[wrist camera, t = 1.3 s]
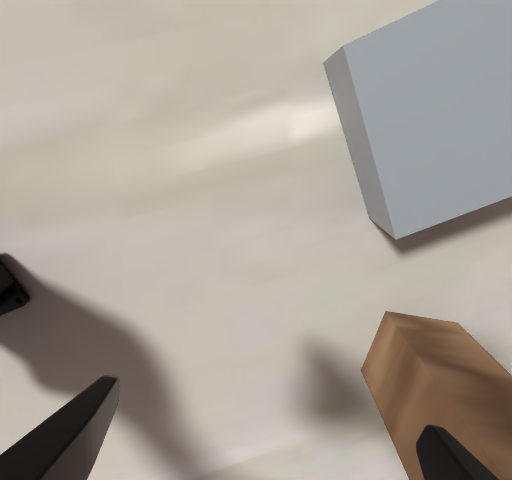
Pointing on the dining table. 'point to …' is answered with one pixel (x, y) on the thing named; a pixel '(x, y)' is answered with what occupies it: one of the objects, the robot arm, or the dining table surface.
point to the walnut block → (440, 390)
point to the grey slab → (429, 112)
